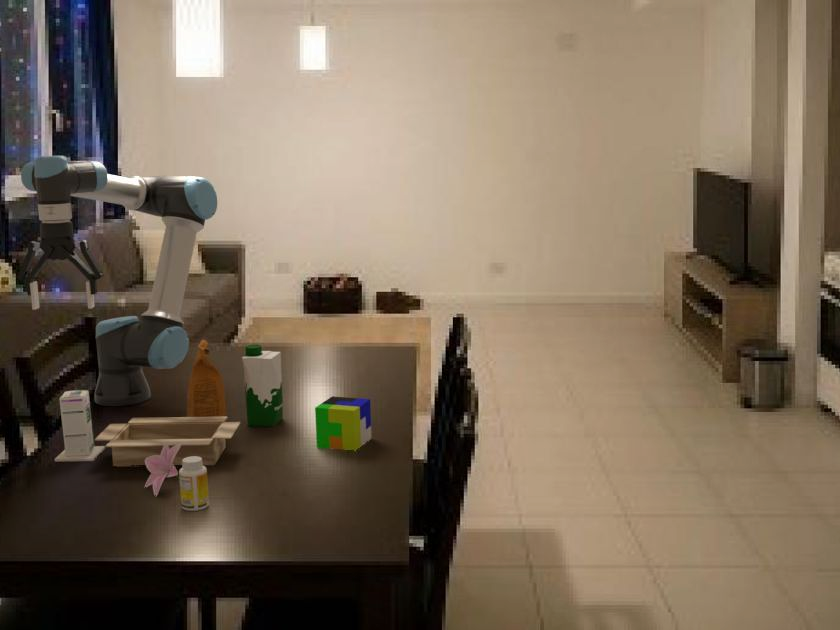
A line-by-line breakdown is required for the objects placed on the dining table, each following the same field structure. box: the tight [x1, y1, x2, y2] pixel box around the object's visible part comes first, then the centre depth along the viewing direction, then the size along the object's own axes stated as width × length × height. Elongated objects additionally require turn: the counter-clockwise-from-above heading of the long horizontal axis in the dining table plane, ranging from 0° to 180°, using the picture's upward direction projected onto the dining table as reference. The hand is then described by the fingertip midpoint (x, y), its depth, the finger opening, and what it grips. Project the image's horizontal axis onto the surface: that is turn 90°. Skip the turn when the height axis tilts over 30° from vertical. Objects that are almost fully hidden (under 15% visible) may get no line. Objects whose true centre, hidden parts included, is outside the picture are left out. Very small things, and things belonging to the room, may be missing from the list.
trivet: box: [54, 445, 106, 462], centre depth 251 cm, size 9×9×1 cm
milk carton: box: [241, 344, 284, 427], centre depth 272 cm, size 9×9×20 cm
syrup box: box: [59, 389, 95, 456], centre depth 249 cm, size 6×6×14 cm
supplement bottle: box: [178, 456, 210, 512], centre depth 216 cm, size 6×6×10 cm
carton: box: [94, 415, 241, 467], centre depth 248 cm, size 21×31×6 cm
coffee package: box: [186, 339, 227, 422], centre depth 268 cm, size 10×12×22 cm
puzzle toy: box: [314, 395, 372, 452], centre depth 254 cm, size 10×10×10 cm
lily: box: [144, 441, 181, 497], centre depth 228 cm, size 12×12×10 cm
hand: (63, 308), depth 258 cm, fingers open, 13 cm apart
